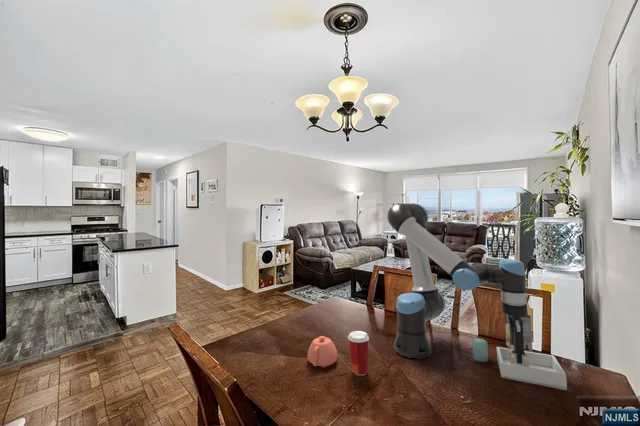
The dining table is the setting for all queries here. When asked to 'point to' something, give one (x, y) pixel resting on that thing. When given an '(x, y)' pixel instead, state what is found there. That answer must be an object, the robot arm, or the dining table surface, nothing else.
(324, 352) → the sugar bowl
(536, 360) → the tray
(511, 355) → the beech cube
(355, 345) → the paper cup
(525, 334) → the coffee box
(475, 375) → the dining table surface
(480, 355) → the teal cylinder
